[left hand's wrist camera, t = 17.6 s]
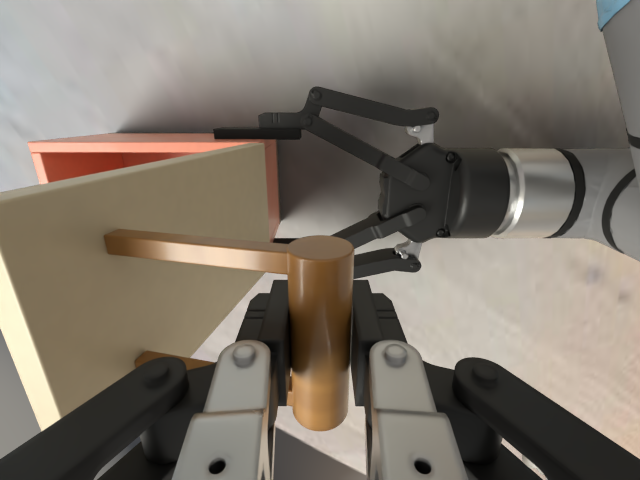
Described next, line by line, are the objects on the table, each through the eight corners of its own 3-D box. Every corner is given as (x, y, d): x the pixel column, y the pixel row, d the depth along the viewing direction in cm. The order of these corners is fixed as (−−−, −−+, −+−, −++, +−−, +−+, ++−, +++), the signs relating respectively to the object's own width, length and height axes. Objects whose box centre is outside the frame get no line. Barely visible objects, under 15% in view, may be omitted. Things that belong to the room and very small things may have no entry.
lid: (56, 471, 11) (327, 551, 9) (-53, 201, 8) (331, 233, 6) (258, 264, 26) (377, 277, 24) (249, 142, 23) (386, 145, 21)
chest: (132, 221, 37) (62, 262, 27) (114, 132, 33) (26, 141, 23) (280, 221, 37) (266, 262, 27) (277, 132, 33) (258, 141, 23)
